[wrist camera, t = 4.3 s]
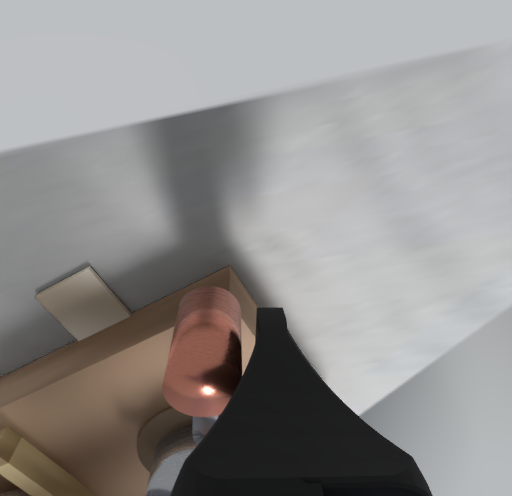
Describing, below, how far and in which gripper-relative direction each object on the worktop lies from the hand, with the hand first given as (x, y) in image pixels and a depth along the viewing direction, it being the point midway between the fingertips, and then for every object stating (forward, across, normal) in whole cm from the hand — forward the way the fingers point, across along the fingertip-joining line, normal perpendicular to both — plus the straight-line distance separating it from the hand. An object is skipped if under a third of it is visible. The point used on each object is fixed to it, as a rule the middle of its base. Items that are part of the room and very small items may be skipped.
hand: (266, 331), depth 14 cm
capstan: (+1, +2, +5) cm, 5 cm away
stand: (+4, +7, +7) cm, 11 cm away
